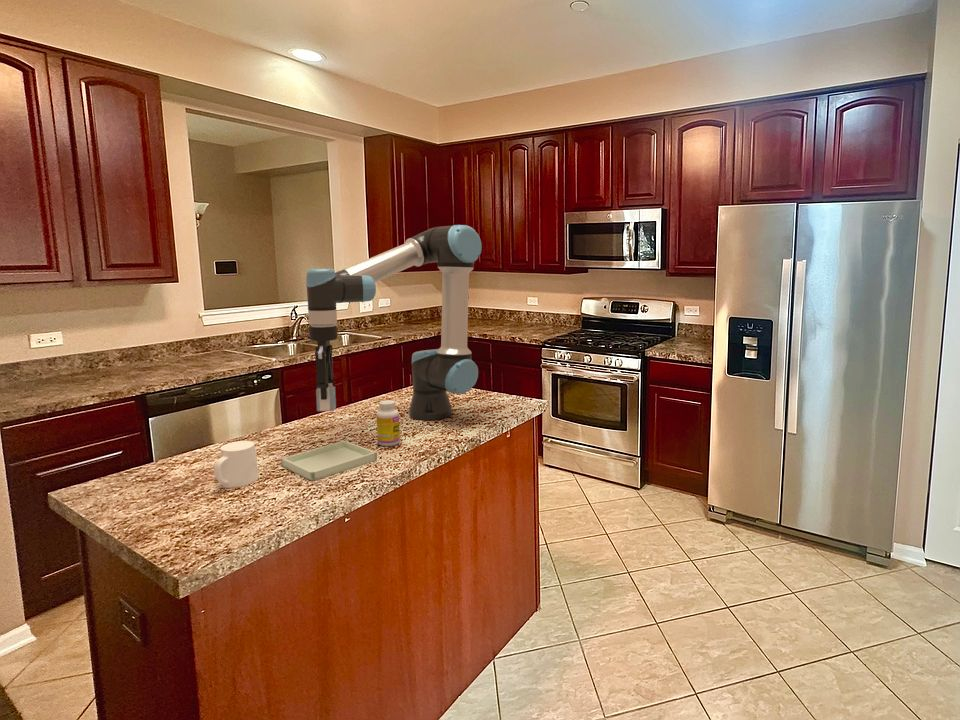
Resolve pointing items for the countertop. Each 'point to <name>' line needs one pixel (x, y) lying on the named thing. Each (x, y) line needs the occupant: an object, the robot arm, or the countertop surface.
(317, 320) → the robot arm
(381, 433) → the supplement bottle
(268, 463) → the countertop surface
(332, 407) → the grey rectangular block
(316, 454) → the tray
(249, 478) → the mug
